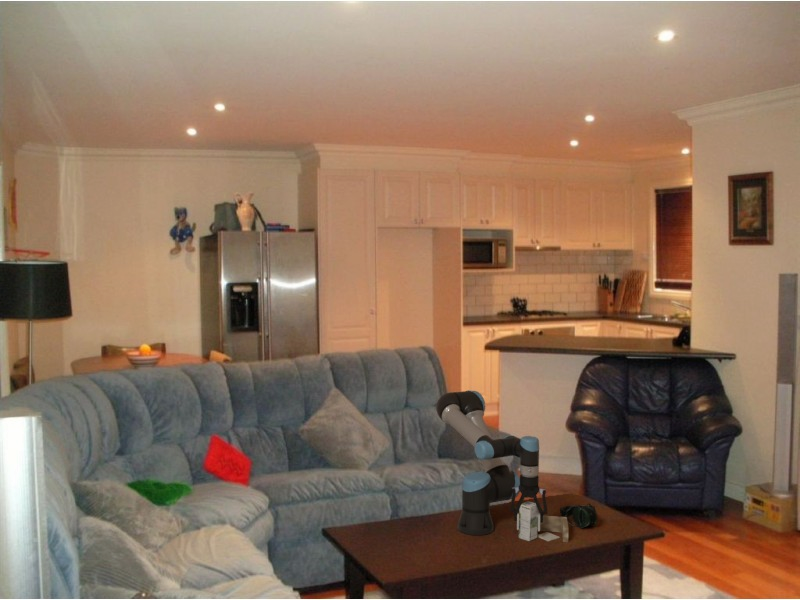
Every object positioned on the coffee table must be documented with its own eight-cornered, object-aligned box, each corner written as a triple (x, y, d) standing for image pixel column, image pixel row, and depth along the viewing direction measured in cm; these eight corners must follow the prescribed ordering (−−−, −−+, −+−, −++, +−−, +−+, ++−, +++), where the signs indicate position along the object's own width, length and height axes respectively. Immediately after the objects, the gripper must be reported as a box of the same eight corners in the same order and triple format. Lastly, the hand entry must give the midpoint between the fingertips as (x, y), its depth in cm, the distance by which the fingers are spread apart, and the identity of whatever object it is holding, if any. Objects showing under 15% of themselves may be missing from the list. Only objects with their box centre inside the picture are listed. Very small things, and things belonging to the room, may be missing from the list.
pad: (548, 541, 303) (548, 540, 303) (535, 536, 309) (535, 535, 309) (559, 537, 307) (559, 537, 307) (547, 532, 313) (547, 531, 313)
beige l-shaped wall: (523, 539, 305) (523, 524, 305) (523, 528, 318) (523, 514, 318) (568, 542, 302) (568, 527, 302) (566, 530, 315) (566, 517, 315)
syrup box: (526, 534, 311) (526, 500, 310) (538, 538, 306) (538, 503, 306) (518, 538, 307) (518, 503, 306) (530, 542, 302) (530, 506, 302)
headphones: (611, 513, 321) (580, 507, 338) (593, 494, 317) (562, 489, 335) (597, 539, 316) (566, 531, 333) (577, 520, 312) (547, 513, 330)
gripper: (503, 476, 303) (502, 530, 304) (555, 478, 300) (554, 534, 301) (504, 470, 311) (503, 524, 312) (554, 473, 307) (553, 527, 308)
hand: (528, 529), depth 306 cm, fingers closed on syrup box, 8 cm apart
